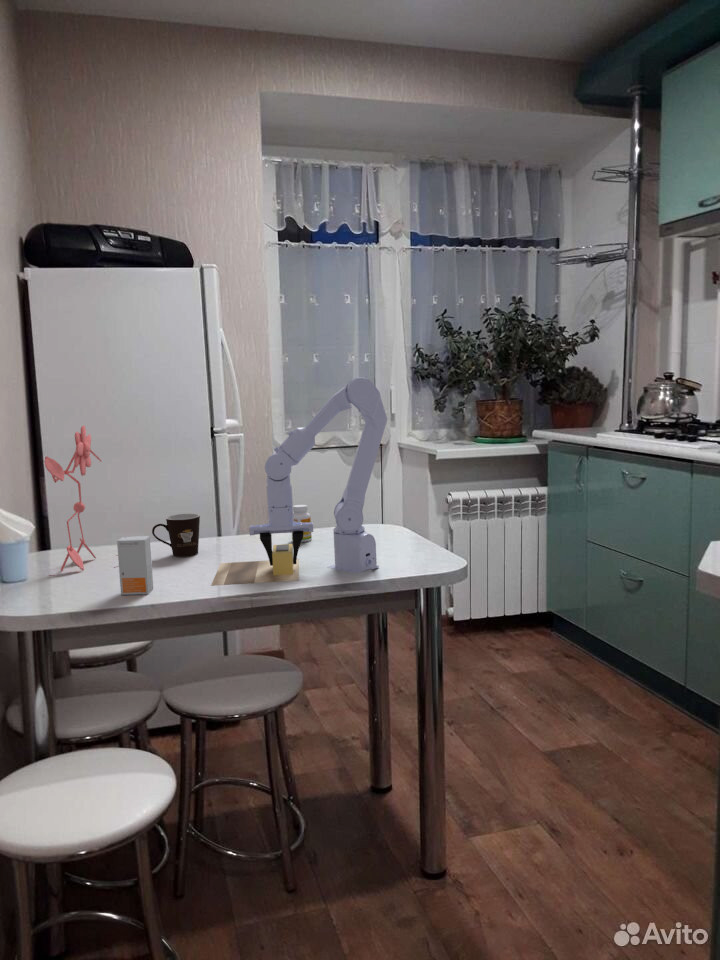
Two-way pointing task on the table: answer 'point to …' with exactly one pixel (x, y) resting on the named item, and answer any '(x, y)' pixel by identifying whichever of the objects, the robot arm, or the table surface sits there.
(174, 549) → the coffee mug
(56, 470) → the figurine
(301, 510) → the supplement bottle
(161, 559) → the table surface
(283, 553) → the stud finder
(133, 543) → the skincare box
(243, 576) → the subfloor board
